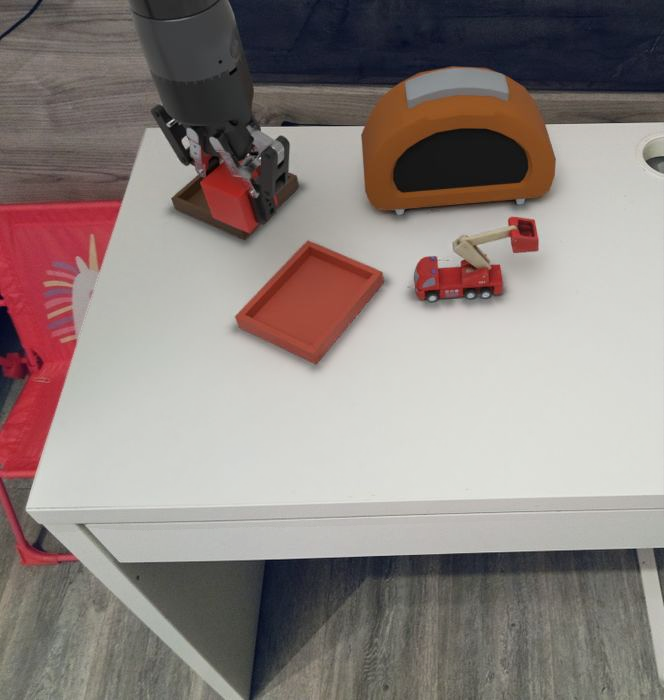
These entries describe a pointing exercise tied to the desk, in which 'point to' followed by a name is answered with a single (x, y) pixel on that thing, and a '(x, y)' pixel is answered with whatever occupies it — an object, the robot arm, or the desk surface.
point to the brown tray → (196, 205)
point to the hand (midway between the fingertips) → (245, 209)
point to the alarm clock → (455, 142)
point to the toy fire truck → (473, 264)
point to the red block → (229, 198)
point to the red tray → (310, 301)
